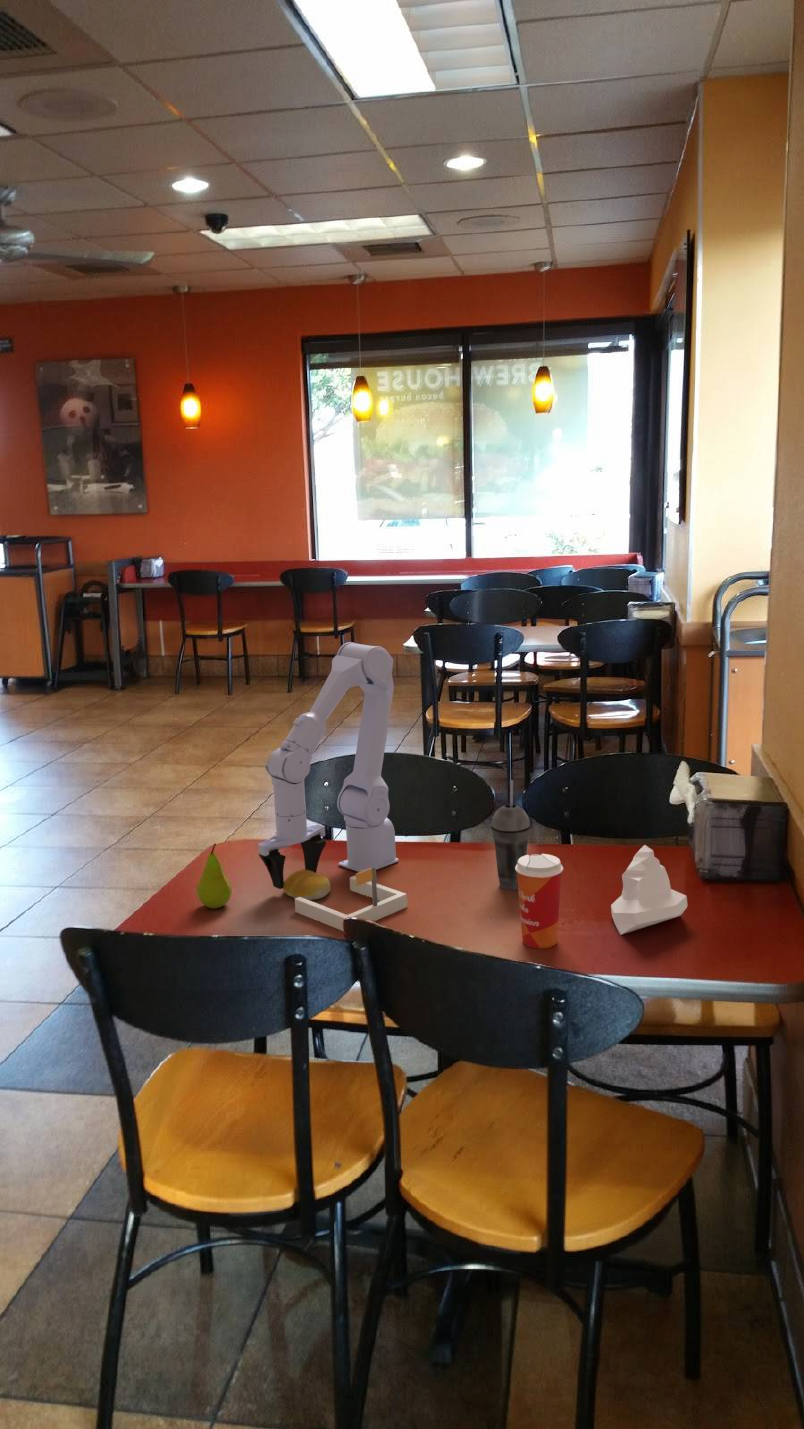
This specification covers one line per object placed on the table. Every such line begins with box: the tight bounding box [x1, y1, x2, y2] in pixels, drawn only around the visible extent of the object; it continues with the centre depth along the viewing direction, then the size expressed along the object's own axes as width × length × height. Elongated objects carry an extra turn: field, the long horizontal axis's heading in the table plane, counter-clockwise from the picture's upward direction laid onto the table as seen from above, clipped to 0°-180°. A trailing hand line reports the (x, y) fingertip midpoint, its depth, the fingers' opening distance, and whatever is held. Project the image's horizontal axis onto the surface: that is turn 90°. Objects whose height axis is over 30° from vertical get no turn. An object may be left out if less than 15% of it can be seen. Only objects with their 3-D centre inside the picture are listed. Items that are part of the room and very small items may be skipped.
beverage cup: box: [490, 779, 532, 891], centre depth 196 cm, size 7×7×20 cm
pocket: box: [294, 866, 408, 932], centre depth 189 cm, size 14×14×10 cm
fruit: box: [196, 842, 232, 909], centre depth 193 cm, size 6×6×12 cm
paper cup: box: [515, 853, 564, 950], centre depth 173 cm, size 8×8×14 cm
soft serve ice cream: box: [610, 844, 688, 936], centre depth 179 cm, size 12×15×14 cm
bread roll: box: [282, 869, 331, 901], centre depth 198 cm, size 8×9×4 cm
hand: (294, 881), depth 201 cm, fingers open, 7 cm apart
